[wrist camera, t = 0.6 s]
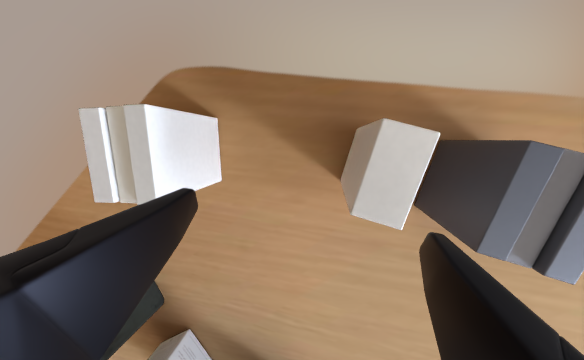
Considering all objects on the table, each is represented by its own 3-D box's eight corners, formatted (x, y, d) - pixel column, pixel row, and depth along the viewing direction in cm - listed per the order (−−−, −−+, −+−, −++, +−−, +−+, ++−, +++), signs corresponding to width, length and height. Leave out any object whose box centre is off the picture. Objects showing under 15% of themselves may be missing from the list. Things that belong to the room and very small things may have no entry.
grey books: (467, 222, 22) (575, 285, 13) (413, 206, 23) (477, 255, 13) (499, 154, 21) (650, 166, 11) (441, 138, 21) (535, 138, 12)
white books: (222, 180, 26) (157, 205, 16) (180, 180, 26) (94, 203, 17) (217, 117, 24) (144, 103, 15) (173, 119, 25) (77, 106, 16)
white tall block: (368, 188, 23) (402, 230, 13) (339, 180, 24) (349, 214, 13) (386, 136, 22) (441, 132, 11) (356, 128, 22) (383, 117, 12)
